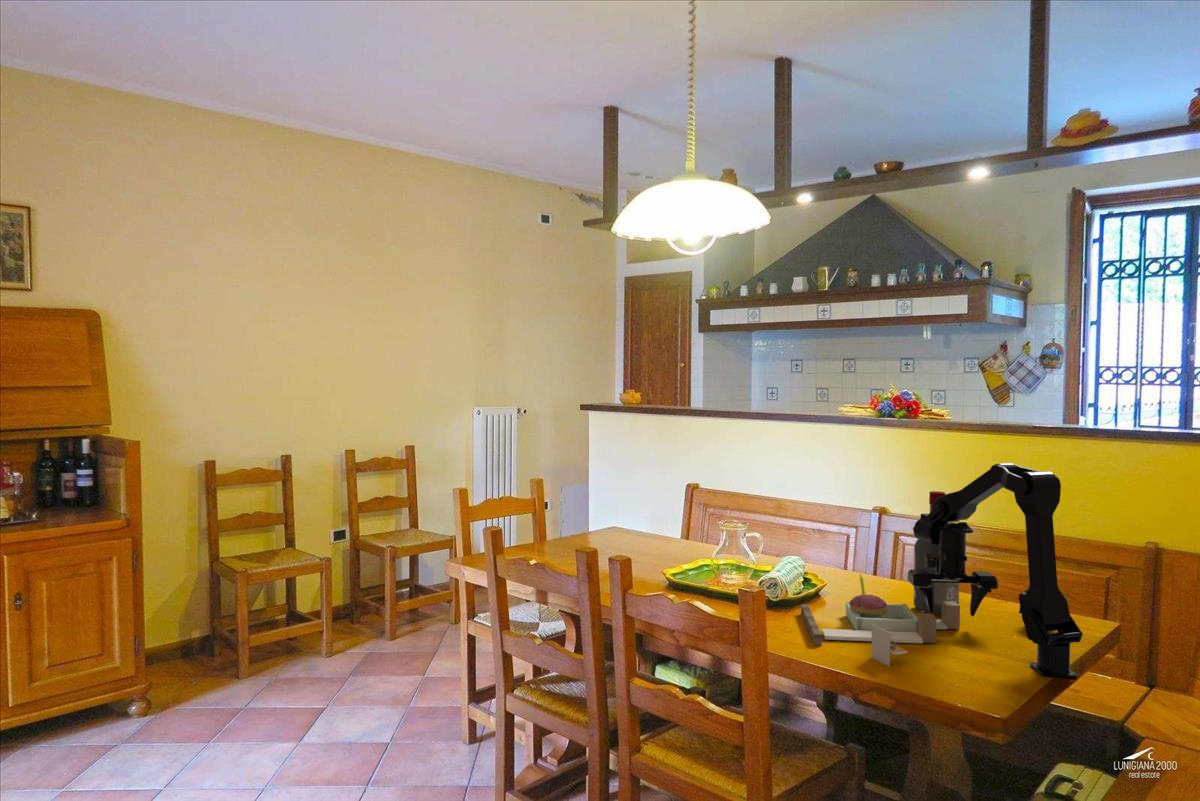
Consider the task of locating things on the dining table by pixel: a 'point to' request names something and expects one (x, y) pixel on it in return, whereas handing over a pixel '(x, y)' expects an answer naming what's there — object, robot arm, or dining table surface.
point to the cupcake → (868, 604)
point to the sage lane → (905, 618)
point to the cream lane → (891, 632)
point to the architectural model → (883, 645)
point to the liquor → (939, 588)
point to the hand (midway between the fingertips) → (951, 615)
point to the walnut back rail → (811, 625)
